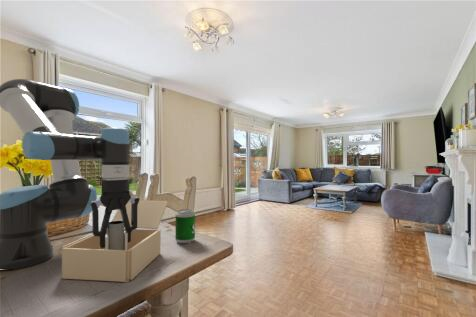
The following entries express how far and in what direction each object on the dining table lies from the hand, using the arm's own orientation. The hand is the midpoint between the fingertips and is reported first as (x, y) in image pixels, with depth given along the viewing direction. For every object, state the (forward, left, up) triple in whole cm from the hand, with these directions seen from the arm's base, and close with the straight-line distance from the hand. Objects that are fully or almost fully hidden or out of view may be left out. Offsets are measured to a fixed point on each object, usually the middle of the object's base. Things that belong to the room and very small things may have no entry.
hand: (115, 255), depth 72 cm
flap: (0, +10, +6) cm, 11 cm away
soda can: (+14, +23, -3) cm, 27 cm away
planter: (0, 0, 0) cm, 1 cm away
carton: (0, +1, -3) cm, 3 cm away
